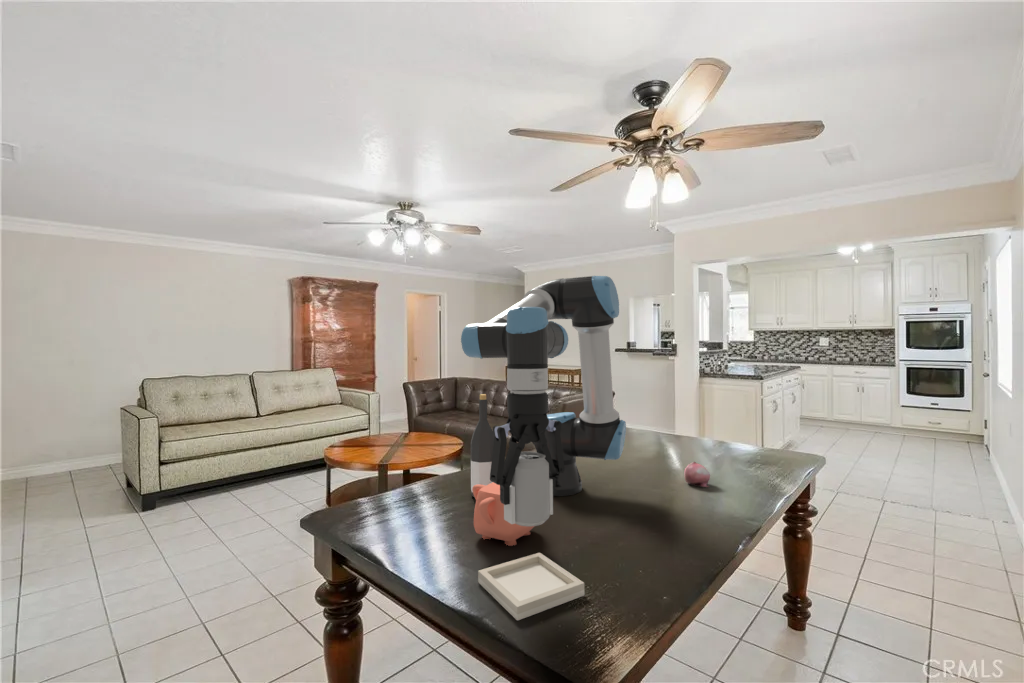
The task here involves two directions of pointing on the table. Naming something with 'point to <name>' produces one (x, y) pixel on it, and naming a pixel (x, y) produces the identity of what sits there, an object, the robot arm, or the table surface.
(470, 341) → the robot arm
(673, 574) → the table surface
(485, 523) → the pink kettle
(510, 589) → the coaster
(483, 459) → the wine bottle
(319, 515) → the table surface
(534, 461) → the can
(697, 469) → the pomegranate
